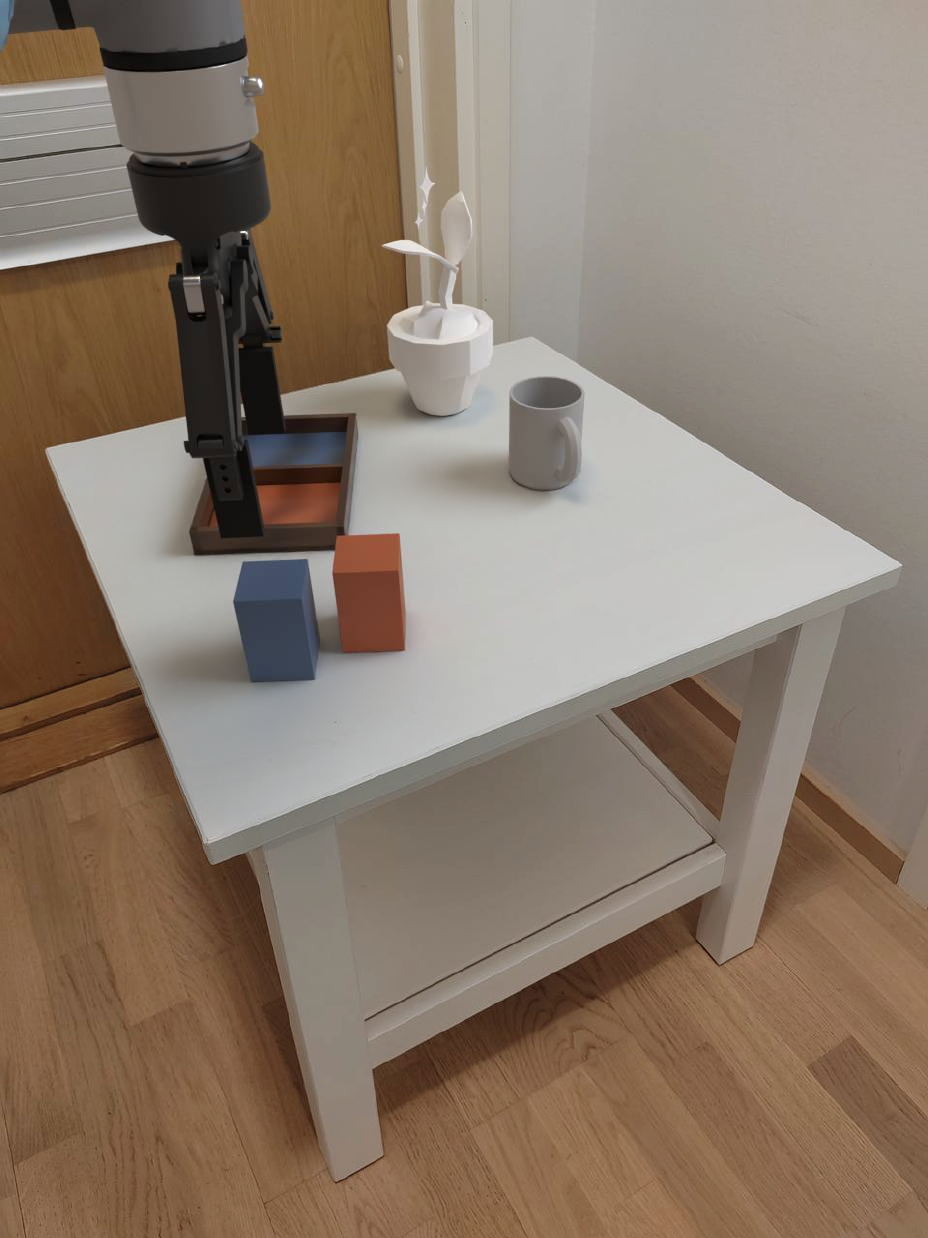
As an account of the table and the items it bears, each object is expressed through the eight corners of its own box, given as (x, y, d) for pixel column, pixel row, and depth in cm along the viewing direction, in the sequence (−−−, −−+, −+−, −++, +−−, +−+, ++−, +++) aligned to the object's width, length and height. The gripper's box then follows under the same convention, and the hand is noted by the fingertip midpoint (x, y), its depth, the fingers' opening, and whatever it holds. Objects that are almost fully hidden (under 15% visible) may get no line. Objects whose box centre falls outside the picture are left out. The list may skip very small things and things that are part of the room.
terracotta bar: (342, 653, 77) (332, 573, 72) (346, 614, 80) (336, 535, 75) (405, 650, 77) (398, 570, 72) (405, 611, 81) (399, 533, 76)
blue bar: (250, 682, 74) (232, 601, 69) (258, 640, 78) (242, 561, 73) (314, 679, 74) (301, 598, 69) (319, 637, 78) (307, 558, 73)
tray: (194, 555, 88) (188, 531, 86) (230, 438, 105) (226, 417, 103) (346, 549, 88) (344, 525, 86) (358, 434, 105) (355, 412, 103)
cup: (557, 449, 101) (561, 370, 96) (606, 494, 94) (613, 412, 89) (496, 464, 99) (496, 384, 93) (542, 511, 92) (545, 428, 86)
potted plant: (456, 373, 116) (450, 151, 100) (513, 409, 109) (516, 175, 93) (366, 402, 111) (344, 171, 95) (418, 441, 103) (405, 198, 87)
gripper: (228, 213, 43) (293, 585, 57) (284, 97, 63) (322, 395, 76) (62, 219, 43) (166, 591, 57) (169, 101, 62) (228, 399, 76)
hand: (256, 479), depth 66 cm, fingers open, 13 cm apart
